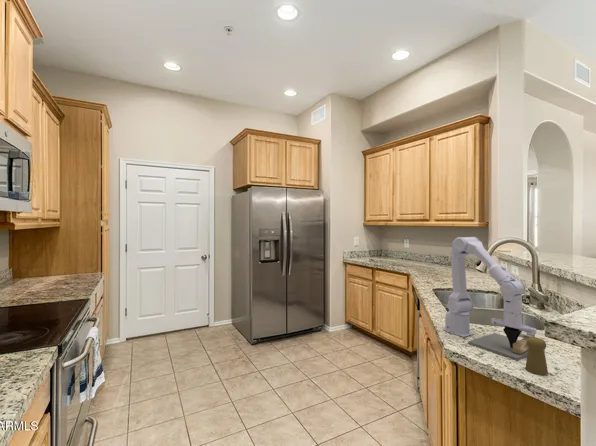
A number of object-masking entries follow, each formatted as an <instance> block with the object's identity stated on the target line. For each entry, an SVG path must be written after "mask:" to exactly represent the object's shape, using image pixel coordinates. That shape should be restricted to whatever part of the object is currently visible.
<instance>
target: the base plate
mask: <svg viewBox="0 0 596 446" xmlns="http://www.w3.org/2000/svg"><path fill="white" fill-rule="evenodd" d="M526 335H530V336H534V337H536V336H535V335H536V334H535V335H533V334H531V333H527V332H526ZM519 340H520V339H517V341H519ZM517 341H516V342H517ZM467 344H468V345H471V346H473V347H476V348H479V349H483V350H485V351H488V352H489V353H490V352H491V353H493V354H496V355H499V356H502V357H505V358H508V359H511V360H514V361H515V362H517V361H521V360H522V359H526V358H527V355H528V350H526V351H525V352H523V353H521V354H518V353H515V352H513V348H510V343H509V340H508V338H507V336H506V335H504V334H500V333H497V332H494V333H490V334H487V335H484V336H481V337H477V338H475V339H472V340H469V341H468V342H467Z"/></svg>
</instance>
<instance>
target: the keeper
mask: <svg viewBox="0 0 596 446" xmlns="http://www.w3.org/2000/svg"><path fill="white" fill-rule="evenodd" d="M529 337H534V336H530V335H527V333H524V332H523V333H522V332H521V334H520V335H519V337H518V338H521V339H523V338H525V339H528V338H529Z"/></svg>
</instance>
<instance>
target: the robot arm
mask: <svg viewBox="0 0 596 446" xmlns="http://www.w3.org/2000/svg"><path fill="white" fill-rule="evenodd" d="M451 246H452V248H451V250H450V261H451V263H450V265H451V279H452V281H451V282H452V292H451V294H450V295H448V302H447V309H448V311H447V312H446V314H445V316H444V317H445V319H444V320H445V321H444V322H445V324H444V325H445V326H444V327H445V329H444V332H447V333H450V334H453V335H456V336H459V337H463V338H467V337H469V336H472V335H474V334H475V333H474V332H472V331H470V325H471V324H470V323H471V322H470V314H471V312H472V311H473V309H474V303H473V301H472V296H471V295H470V294H469V293H468V290H467V278H466V277H467V276H466V275H467V274H466V260H465V259H466V257H467V256H468V255H469V254H471V255H475V256H476V257H477V258H478V259H479V260H480V261H481V263H483V264H484V266H486V267H487V269H488V274H489V276H491V277H492V279H494V280H495V282H496V283H497V284H498V286H499V291H500V293H501V294H502V298H503V319H500V318H495V317H493V318H491V320H490V321H491V324H492V325H497V326H501V327H504V328H503V329H502V330H503V332H504V334H505V336H507V338H508V340H509V343H510V348H513V343H515V342H516V341H517V339H518V338H520V337H519V335H520V334H521V333H522V332H523V333H526V334H527V333H531V334H533V335H537V328H535V327H533V326H532V327H531V326H529V325H526V324H523V294H524V293H526V286H525V284H524V283H523V281H522V280H519V279H516V278H515V276H513V275H512V274H511V273H510V272H509V271H508V270H507V267H506V266H505V265H503V264H501V263H500V264H498V263H497V262H496V261H495V260H494V259H493V257H492V256H491V254H489V252H488V251H487V250H486V248H485V247H484V246H483V242H482V241H481V240H480V239H479V238H477V236H464V237H462V236H458V237H456V238H455V239H454V240H452V241H451ZM518 340H519V339H518Z"/></svg>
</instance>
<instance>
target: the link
mask: <svg viewBox="0 0 596 446" xmlns="http://www.w3.org/2000/svg"><path fill="white" fill-rule="evenodd" d="M535 337H536V338H538V337H537V336H535ZM518 340H519V341H517V342H515V343H513V352H515V353H518V354H521V353H523V352H525V351H526V350H528V348H529V346H528V345H527V339H525V338H521V339H518Z"/></svg>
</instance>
